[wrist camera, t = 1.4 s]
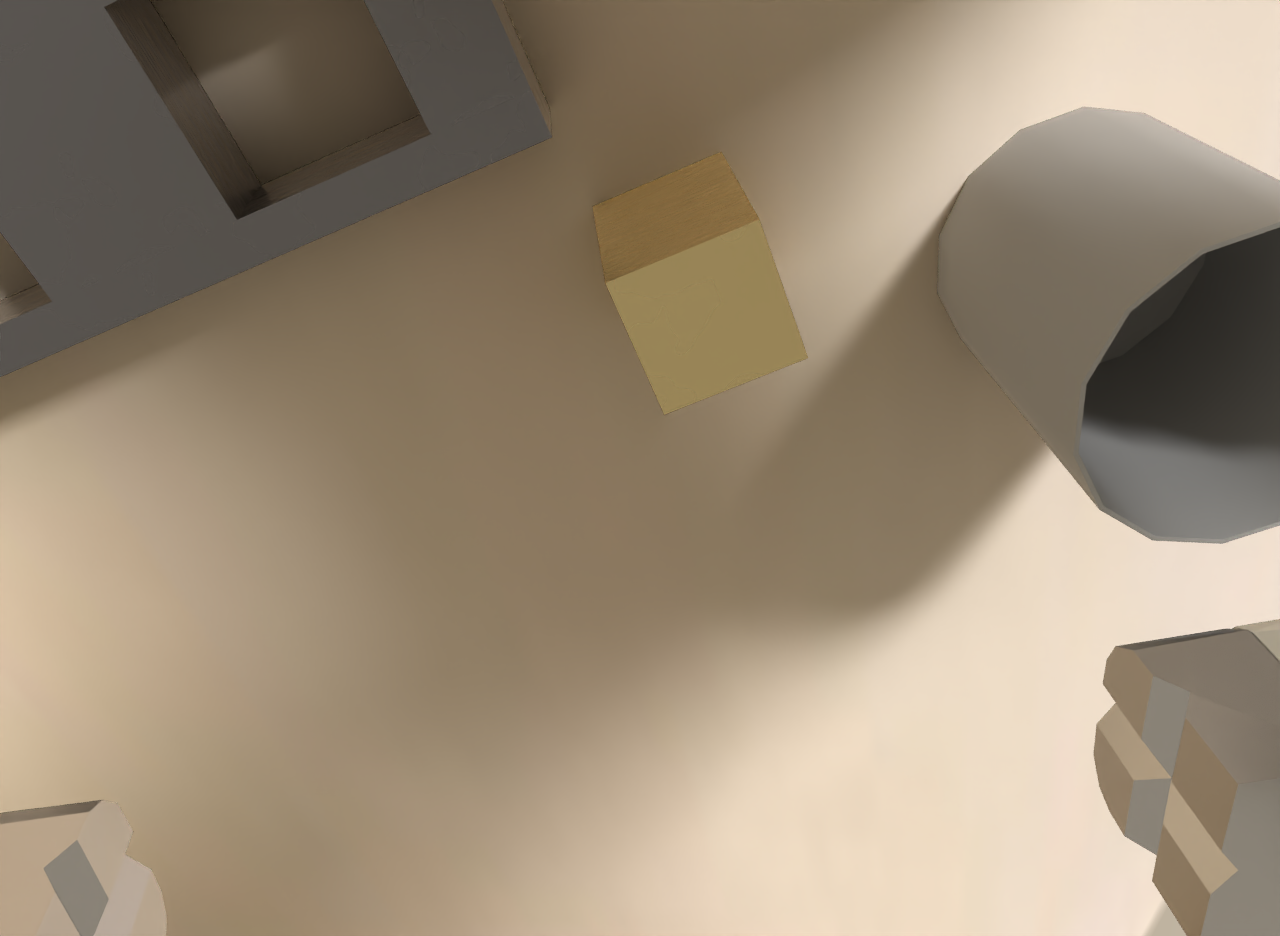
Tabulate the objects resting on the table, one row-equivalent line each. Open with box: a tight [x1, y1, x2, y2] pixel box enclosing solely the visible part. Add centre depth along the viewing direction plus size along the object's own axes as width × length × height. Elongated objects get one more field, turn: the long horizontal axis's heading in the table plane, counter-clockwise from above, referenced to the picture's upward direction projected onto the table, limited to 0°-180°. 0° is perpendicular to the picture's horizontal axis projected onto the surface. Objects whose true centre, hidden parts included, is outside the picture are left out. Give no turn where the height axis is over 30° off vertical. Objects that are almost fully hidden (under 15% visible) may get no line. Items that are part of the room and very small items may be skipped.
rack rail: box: [0, 0, 552, 377], centre depth 28 cm, size 22×8×3 cm, turn 112°
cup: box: [937, 107, 1280, 544], centre depth 30 cm, size 8×8×10 cm
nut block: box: [593, 152, 808, 415], centre depth 30 cm, size 4×4×6 cm
